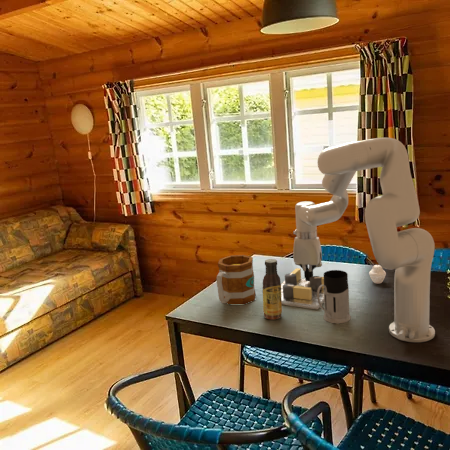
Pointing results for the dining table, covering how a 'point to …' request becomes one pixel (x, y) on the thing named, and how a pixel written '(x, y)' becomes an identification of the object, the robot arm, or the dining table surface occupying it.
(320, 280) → the knob right
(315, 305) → the base plate
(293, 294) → the knob front
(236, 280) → the mug
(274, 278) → the sauce bottle
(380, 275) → the white carved ornament
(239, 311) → the dining table surface
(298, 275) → the knob left
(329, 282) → the glass holder
